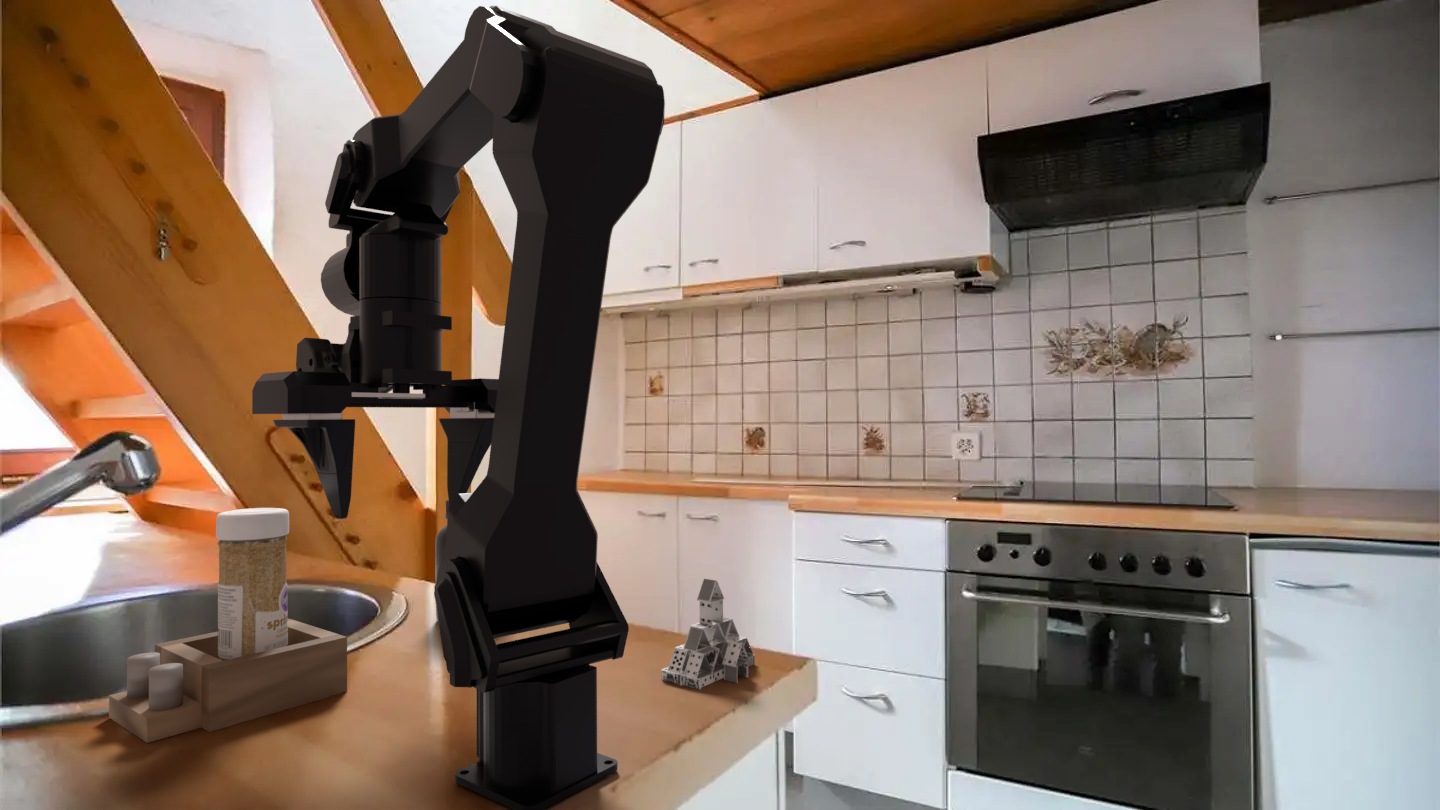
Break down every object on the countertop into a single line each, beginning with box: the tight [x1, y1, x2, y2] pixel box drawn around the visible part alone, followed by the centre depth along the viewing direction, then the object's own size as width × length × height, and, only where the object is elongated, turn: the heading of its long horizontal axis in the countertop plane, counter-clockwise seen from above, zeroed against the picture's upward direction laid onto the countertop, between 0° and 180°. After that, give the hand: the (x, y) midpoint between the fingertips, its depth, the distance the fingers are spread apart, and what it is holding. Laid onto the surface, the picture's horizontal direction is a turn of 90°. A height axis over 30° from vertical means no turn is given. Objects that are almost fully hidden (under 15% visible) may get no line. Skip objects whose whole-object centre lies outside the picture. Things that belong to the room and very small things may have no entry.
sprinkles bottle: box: [215, 507, 290, 661], centre depth 57 cm, size 5×5×14 cm
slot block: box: [108, 618, 348, 744], centre depth 56 cm, size 10×12×4 cm
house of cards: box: [660, 578, 756, 690], centre depth 59 cm, size 9×9×8 cm
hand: (401, 511), depth 59 cm, fingers open, 9 cm apart
